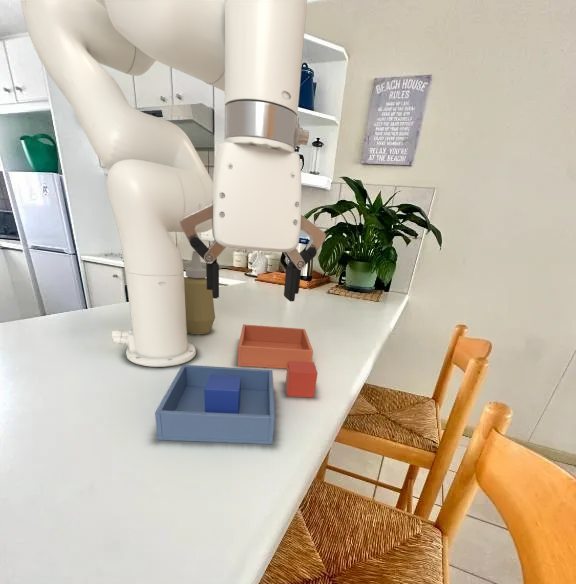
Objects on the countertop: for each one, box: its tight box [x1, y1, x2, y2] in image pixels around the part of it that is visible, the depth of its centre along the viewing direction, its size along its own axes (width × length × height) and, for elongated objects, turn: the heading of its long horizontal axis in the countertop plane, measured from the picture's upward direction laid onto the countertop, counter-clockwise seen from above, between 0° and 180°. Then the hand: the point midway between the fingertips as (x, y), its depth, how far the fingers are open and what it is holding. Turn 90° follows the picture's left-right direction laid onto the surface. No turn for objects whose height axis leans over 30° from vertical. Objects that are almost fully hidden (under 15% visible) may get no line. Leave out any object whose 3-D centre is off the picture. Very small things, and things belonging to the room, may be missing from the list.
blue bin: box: [154, 364, 276, 445], centre depth 46 cm, size 14×14×4 cm
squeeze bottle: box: [184, 250, 216, 335], centre depth 74 cm, size 8×8×18 cm
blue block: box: [204, 375, 241, 414], centre depth 45 cm, size 4×4×4 cm
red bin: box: [237, 324, 314, 370], centre depth 68 cm, size 14×14×4 cm
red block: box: [285, 361, 318, 399], centre depth 54 cm, size 4×4×4 cm
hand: (253, 297), depth 42 cm, fingers open, 9 cm apart
